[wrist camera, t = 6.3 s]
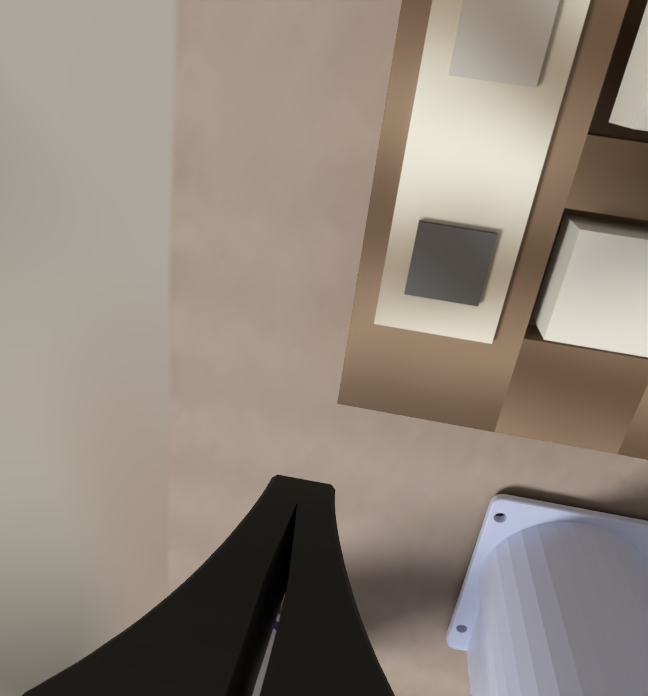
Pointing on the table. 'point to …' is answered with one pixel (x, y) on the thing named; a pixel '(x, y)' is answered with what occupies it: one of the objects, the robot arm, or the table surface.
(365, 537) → the table surface
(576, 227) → the button
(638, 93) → the button middle
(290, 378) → the table surface
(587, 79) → the button board
